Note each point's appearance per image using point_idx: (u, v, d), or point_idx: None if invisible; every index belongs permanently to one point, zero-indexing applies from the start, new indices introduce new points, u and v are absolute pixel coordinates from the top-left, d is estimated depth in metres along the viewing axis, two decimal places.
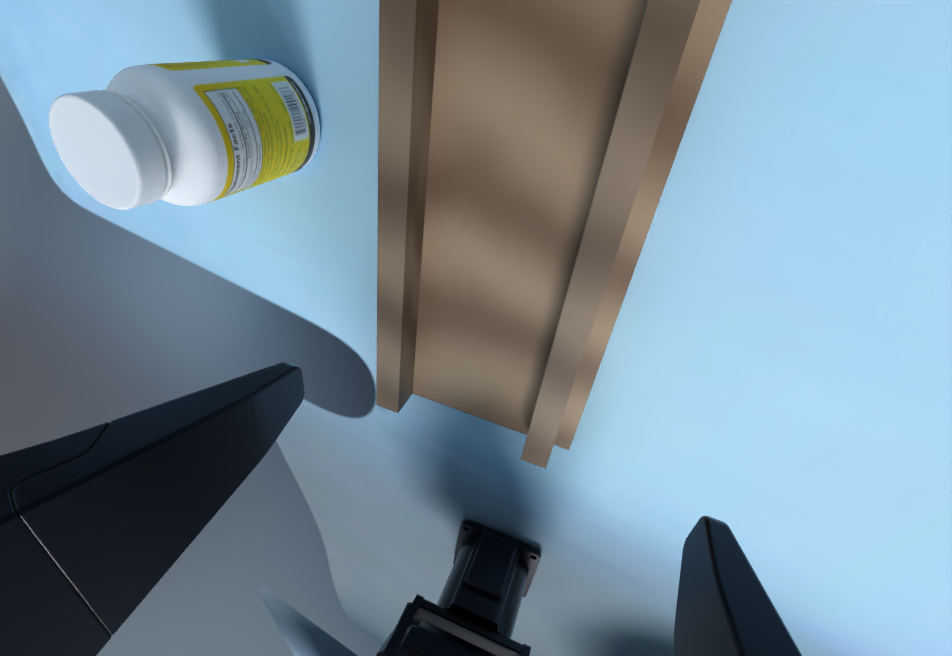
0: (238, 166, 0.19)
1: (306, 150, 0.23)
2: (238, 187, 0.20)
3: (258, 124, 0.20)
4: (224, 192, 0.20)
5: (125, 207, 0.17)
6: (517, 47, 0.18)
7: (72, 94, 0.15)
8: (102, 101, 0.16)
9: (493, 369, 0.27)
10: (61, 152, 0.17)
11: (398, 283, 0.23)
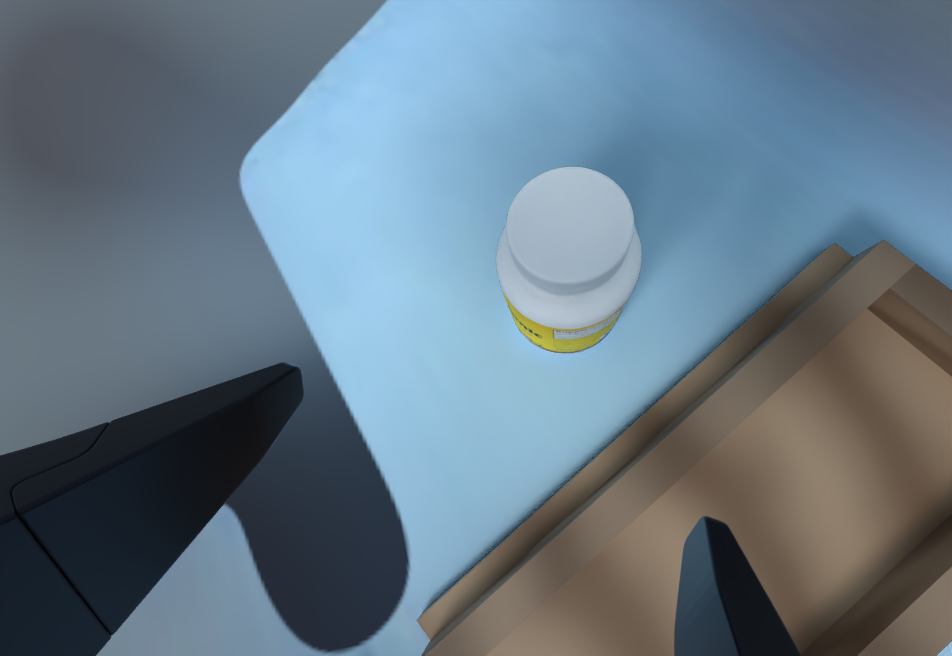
0: (600, 324, 0.17)
1: (586, 347, 0.22)
2: (565, 334, 0.18)
3: None
4: (565, 330, 0.17)
5: (544, 276, 0.14)
6: (851, 428, 0.20)
7: (612, 180, 0.14)
8: None
9: None
10: (526, 192, 0.15)
11: (606, 534, 0.18)
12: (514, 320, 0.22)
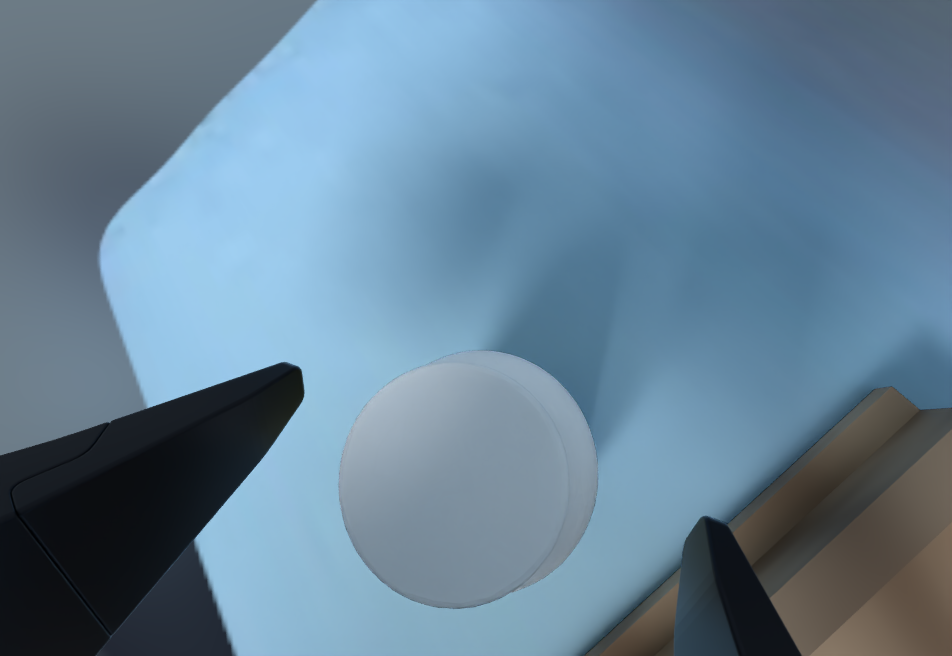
0: None
1: None
2: None
3: None
4: None
5: (397, 589, 0.07)
6: None
7: (531, 394, 0.08)
8: None
9: None
10: (377, 409, 0.08)
11: None
12: None
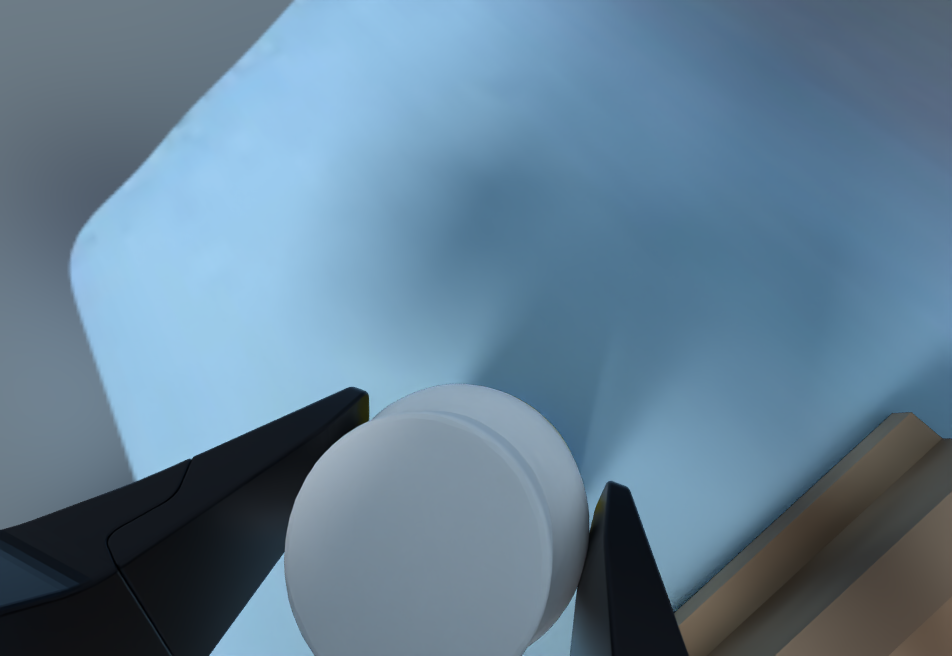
0: None
1: None
2: None
3: None
4: None
5: None
6: None
7: (507, 452, 0.07)
8: None
9: None
10: (330, 467, 0.07)
11: None
12: None
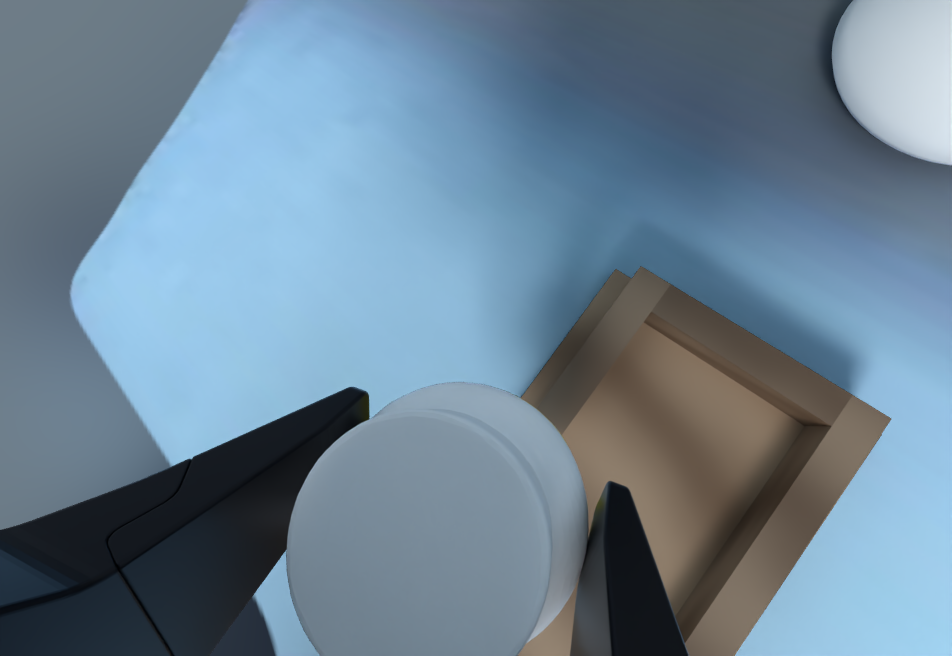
0: None
1: None
2: None
3: None
4: None
5: None
6: (652, 445, 0.21)
7: (507, 449, 0.07)
8: (539, 496, 0.07)
9: None
10: (330, 464, 0.07)
11: None
12: None
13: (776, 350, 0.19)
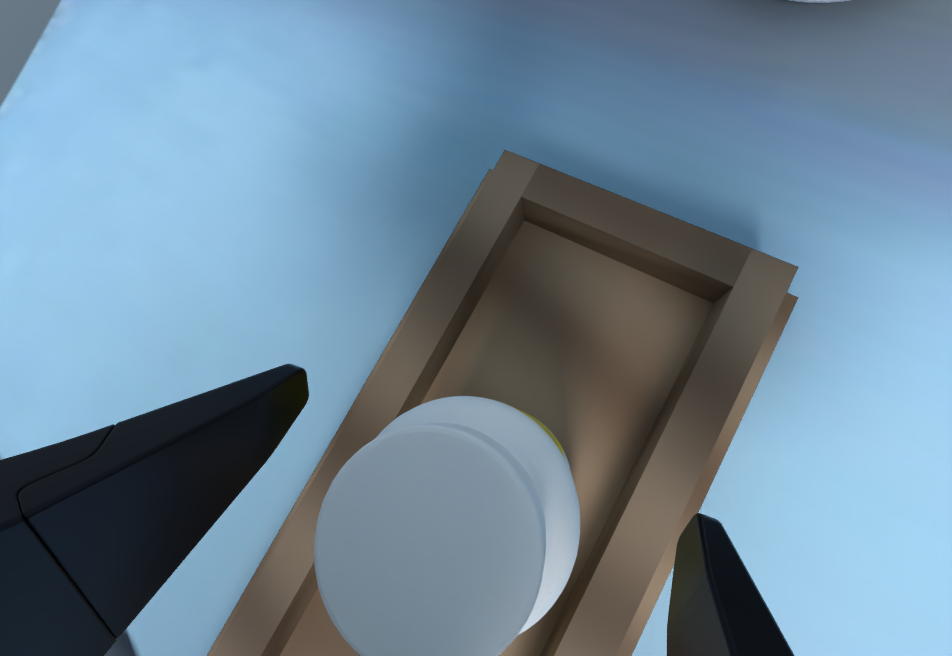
0: None
1: None
2: None
3: None
4: None
5: None
6: (548, 353, 0.18)
7: (506, 460, 0.08)
8: (534, 501, 0.08)
9: None
10: (352, 473, 0.08)
11: (298, 572, 0.15)
12: None
13: (662, 214, 0.16)
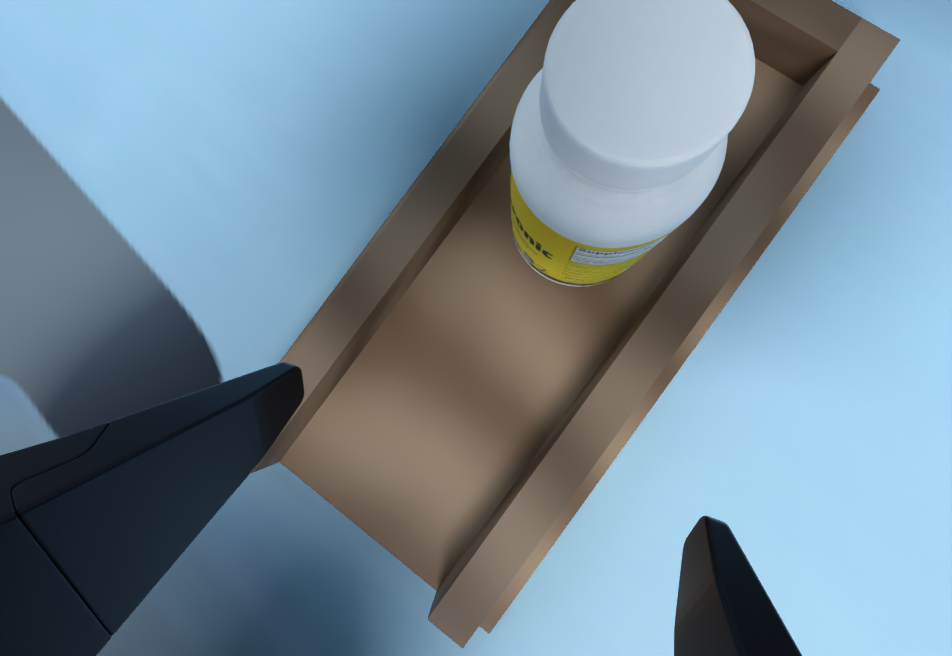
0: (642, 247, 0.12)
1: (601, 280, 0.17)
2: (590, 256, 0.13)
3: None
4: (594, 249, 0.12)
5: (596, 148, 0.09)
6: None
7: (729, 3, 0.09)
8: None
9: (437, 456, 0.18)
10: (586, 4, 0.09)
11: (396, 265, 0.17)
12: (514, 232, 0.17)
13: None
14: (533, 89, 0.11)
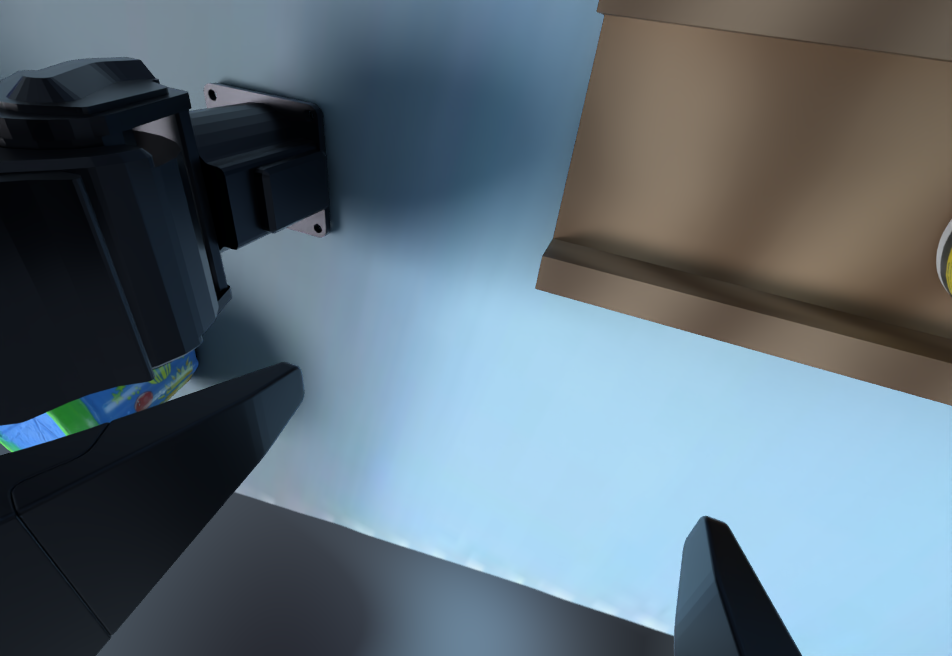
0: None
1: None
2: None
3: None
4: None
5: None
6: None
7: None
8: None
9: (675, 189, 0.17)
10: None
11: None
12: None
13: None
14: None
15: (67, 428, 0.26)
